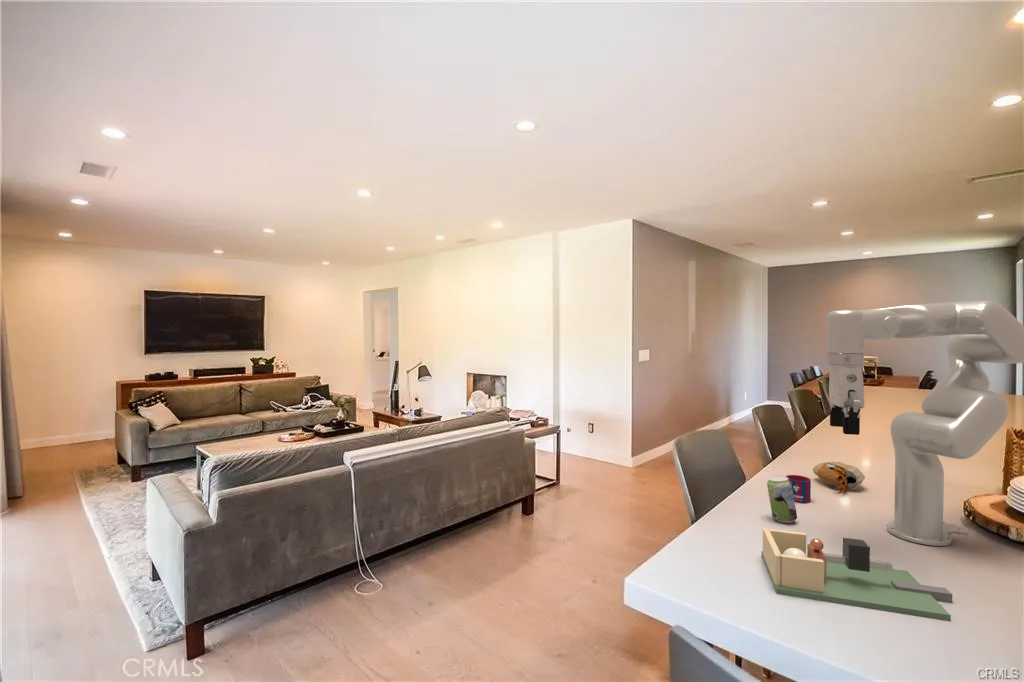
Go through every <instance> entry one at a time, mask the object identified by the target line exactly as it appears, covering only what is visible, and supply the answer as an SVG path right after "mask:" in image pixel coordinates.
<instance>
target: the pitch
mask: <svg viewBox="0 0 1024 682" xmlns="http://www.w3.org/2000/svg"><path fill="white" fill-rule="evenodd" d="M789 548H797V549H800V550H801V551H803V552H804V553H805V554H806V555H807V534H806V533H805V532H799V531H791V530H784V529H775V528H765V527H762V551H761V558H762V560H763V563H764V565H765V568H766V571H767V572H768V573H767V574H768V575H769V577H770V580H771V583H772V585H773V588H774V591H775V593H776V594H778V595H784V596H792V597H796V598H797V597H799V598H805V599H811V600H817V601H821V602H822V601H823V602H829V603H830V602H831V603H836V604H843V605H847V606H848V605H849V606H856V607H861V608H869V609H874V610H880V611H886V612H893V613H900V614H907V615H912V616H918V617H924V618H925V617H926V618H929V619H930V618H931V619H937V620H944V621H952V620H951V618H952V617H951V616H952V615H951V614H950V613H949V612H948V611H947V610H946V609H945V608H944V606H942V605H941V604H940V603H939V602H940V601H941V602H946V603H947V602H948V603H953V593H951V592H950V590H948V588H946V587H940V586H933V585H926V584H921V583H920V582H919V581H918V580H916V578H915V577H914V576H913V575H912V574H911V573H910V572H909V571H908V570H904V569H898V568H897V569H896V568H892V571H886V570H879V569H871V568H870V572H866V571H858V570H851V569H848V568H847V566H846V565H842V564H834V563H827V567H826V581H825V580H824V561H823V560H822V559H814V558H807V557H799V556H792V555H784V554H783V553H784V551H785V550H787V549H789Z"/></svg>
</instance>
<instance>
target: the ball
mask: <svg viewBox="0 0 1024 682" xmlns="http://www.w3.org/2000/svg"><path fill="white" fill-rule="evenodd" d="M783 554H784V555H792V556H799V557H807V553H806V554H805V553H804V552H803V551H801V550H800V549H797V548H789V549H787V550H785V551H784V553H783ZM807 558H808V557H807Z"/></svg>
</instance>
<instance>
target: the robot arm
mask: <svg viewBox="0 0 1024 682" xmlns="http://www.w3.org/2000/svg"><path fill="white" fill-rule="evenodd" d="M940 336H941V337H942V336H950V337H949V339H948V341H947V345H946V349H947V350H946V351H947V357H948V365H949V368H948V372H947V373H946V375H945V376H944V377H943V378H941V380H940V381H939V382H938V383H937V384H936V385H935V386H934V387H933V388H932V389H931V390H930V392H928V393H927V395H926V396H925V397H924V399H923V400H922V403H921V410H922V412H918V411H917V412H915V411H907V412H902V413H899V414H897V415H896V416H895V417H894V418H893V419H892V421H891V423H890V436H891V442H892V445H893V449H894V464H895V465H894V521H890V522H888V523H887V524H886V530H887V531H888V533H890V534H891V535H893V536H895V537H898V538H899V539H902V540H905V541H908V542H911V543H916V544H920V545H925V546H927V545H928V546H933V547H939V546H940V547H943V546H944V547H945V546H948V545H950V544H952V535H954V534H956V535H958V536H959V535H960V536H968V535H969V529H968V528H967V527H965V526H958V525H957V526H956V524H955V523H947V522H945V520H944V503H945V502H944V501H945V499H944V496H945V495H944V494H945V492H944V488H945V487H944V486H945V485H944V483H945V471H944V466H943V464H942V462H941V460H940V458H939V457H938V456H942V457H945V458H950V459H956V460H965V459H966V460H967V459H970V458H972V457H974V456H975V455H976V454H977V453H978V452H980V450H982V448H983V447H984V446H986V444H987V443H988V442H989V441H990V440H991V439H992V438H993V437H994V436H995V435H996V434H997V432H999V430H1000V429H1001V428H1002V427H1003V425H1004V423H1006V419H1007V417H1008V413H1009V409H1008V407H1009V406H1008V403H1007V401H1006V400H1005V399H1004V397H1003V396H1002V395H1000V394H999V393H997V392H995V391H992V390H988V389H989V388H990V380H989V377H988V376H987V374H986V372H985V371H984V369H983V368H982V365H981V363H991V364H1022V363H1024V325H1023V324H1022V323H1021V322H1020V321H1019V320H1018V318H1016V317H1015V316H1014V315H1013V314H1012V313H1011V312H1010V311H1009V310H1008V309H1007V308H1005V307H1004V306H1003V305H1001V304H999V303H998V302H995V301H994V300H985V299H984V300H970V301H969V300H967V301H951V302H947V301H946V302H935V303H933V302H931V303H919V304H909V305H899V306H897V305H896V306H892V307H885V308H884V307H883V308H874V309H872V308H871V309H861V310H860V309H858V310H857V309H845V310H844V309H842V310H832V311H829V313H828V314H827V316H826V356H825V357H826V360H825V363H826V364H825V365H826V367H829V378H828V379H829V380H828V381H829V382H828V400H829V402H830V406H829V409H830V410H829V426H830V427H836V428H842V433H843V434H845V435H854V436H858V435H860V430H861V429H860V428H861V427H860V424H861V423H860V422H861V413H860V412H861V410H862V409H864V408H865V387H864V375H863V374H864V373H863V369H862V368H864V367H865V365H864V364H865V340H866V341H885V340H890V339H892V338H896V339H918V338H919V339H920V338H921V339H922V338H928V337H929V338H931V337H932V338H933V337H940Z"/></svg>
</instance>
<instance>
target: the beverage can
mask: <svg viewBox="0 0 1024 682" xmlns="http://www.w3.org/2000/svg"><path fill="white" fill-rule="evenodd" d="M766 482H767V483H766V486H767V492H768V499H769V503H770V509H771V515H772V516H771V517H772V518H773V520H776V521H777V522H780V523H786V524H787V523H793V522H795V521H796V520H797V519H798V514H797V513H798V512H797V508H796V502H795V501H794V495H793V489H792V484H791V482H790V481H789V480H788V478H787V477H786V476H783V475H775V476H774V475H773V476H769V477H768V480H767V481H766Z"/></svg>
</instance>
